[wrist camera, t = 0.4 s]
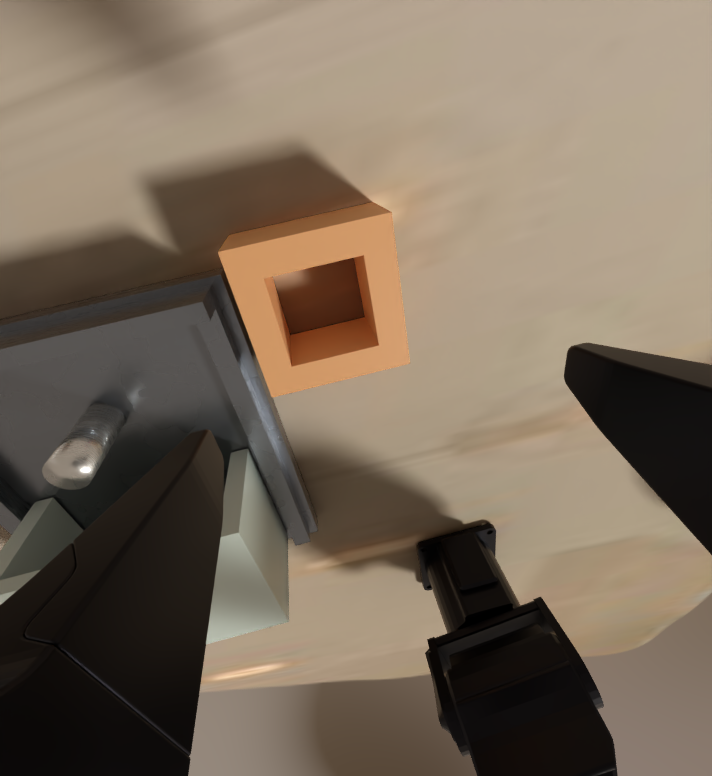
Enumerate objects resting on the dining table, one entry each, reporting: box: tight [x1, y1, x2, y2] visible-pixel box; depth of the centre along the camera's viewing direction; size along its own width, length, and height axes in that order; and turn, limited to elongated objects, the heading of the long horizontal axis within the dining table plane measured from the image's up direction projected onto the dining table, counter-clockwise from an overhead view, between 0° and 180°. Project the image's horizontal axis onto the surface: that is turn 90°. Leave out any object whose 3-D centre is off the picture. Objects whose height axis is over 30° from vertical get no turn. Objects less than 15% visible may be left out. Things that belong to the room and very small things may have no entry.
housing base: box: [0, 268, 318, 545], centre depth 20 cm, size 18×16×5 cm
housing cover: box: [0, 449, 289, 644], centre depth 21 cm, size 8×12×6 cm, turn 100°
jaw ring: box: [218, 202, 410, 397], centre depth 17 cm, size 7×7×4 cm
